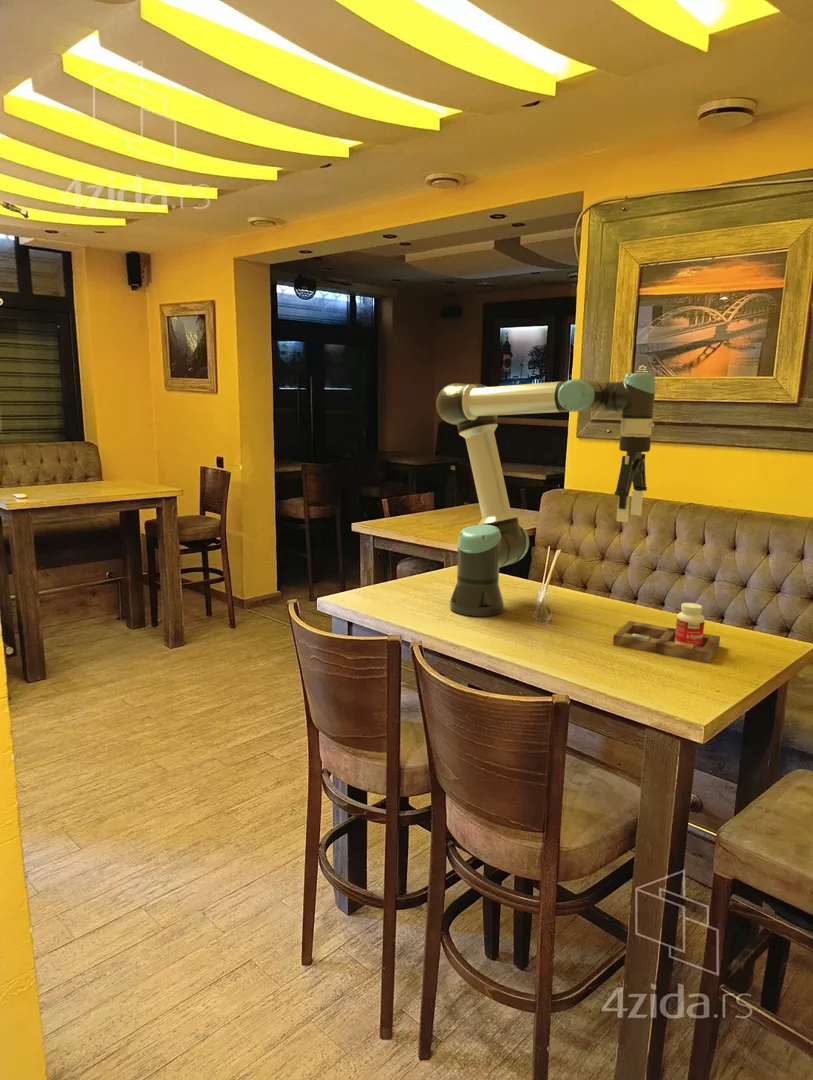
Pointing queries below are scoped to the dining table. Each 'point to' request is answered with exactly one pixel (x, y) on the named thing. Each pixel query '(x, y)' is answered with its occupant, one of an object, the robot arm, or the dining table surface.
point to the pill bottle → (690, 624)
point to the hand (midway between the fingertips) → (629, 518)
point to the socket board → (664, 641)
